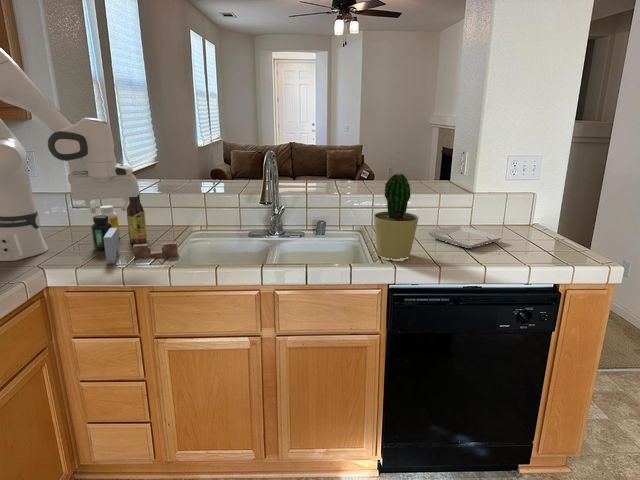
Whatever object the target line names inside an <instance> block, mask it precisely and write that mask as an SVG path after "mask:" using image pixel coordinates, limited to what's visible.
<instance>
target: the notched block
mask: <svg viewBox="0 0 640 480" xmlns="http://www.w3.org/2000/svg"><path fill="white" fill-rule="evenodd" d="M132 247H133V256H134V258H133V259H135V260H141V259H140V258H142V259H153V258H154V259H155V258H156V259H157V258H167V257H168V258H170V257H178V256H179V252H178V242H177V241H169V242H168V241H167V242H163V243H162V245H161V250H158V251H156V250H155V251H151V246H150V245H149V243H133V246H132Z"/></svg>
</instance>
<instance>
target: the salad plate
mask: <svg viewBox="0 0 640 480" xmlns="http://www.w3.org/2000/svg"><path fill="white" fill-rule="evenodd" d="M459 230H460V231H465V232H469V233H472V234H476V235H480V236H484V237H488V238H492V239H491V240H487V241H483V242H480V243H477V244H473V245H467V244H463V243H461V242H458V241H455V240H453V239H450V238H447V237H443V236H442V235H446V234H450V233H452V232H456V231H459ZM427 234H428V235H429V236H430V237H432V238H434V239H435V238H436V240H438V239H440V240H443V241H447V242H450V243H454V244H457V245H461V246H463V247H467V248H471V249H473V248H472V247H475V246H478V245H482V244H486V243H490V242H494V243H496V242H495V241H497V242H499V241H501V239H502V238H503V236H500V235H497V234H493V233H490V232H486V231H483V230H479V229H475V228H472V227H471V228H470V227H467V226H463V225H455V226H454V225H453V226H450V227H443V228H438V229H433V230H428V231H427ZM440 240H439V241H440ZM490 244H491V243H490ZM475 248H476V247H475Z"/></svg>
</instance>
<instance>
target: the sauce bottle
mask: <svg viewBox="0 0 640 480" xmlns="http://www.w3.org/2000/svg"><path fill="white" fill-rule="evenodd" d="M140 194H141V192H140V193H139V195H138V196H137V197H129V201H128V203H129V204H127V211H126V214H127V216H126V219H127V220H126V221H127V228H128V229H127V230H128V238H129V242H130V243H131V244H144V243H146V241H147V237H148V236H147V227H146V226H147V225H146V224H147V223H146V213H145V209H144V207H143V205H142V203H141V199H140V197H141V196H140Z"/></svg>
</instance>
